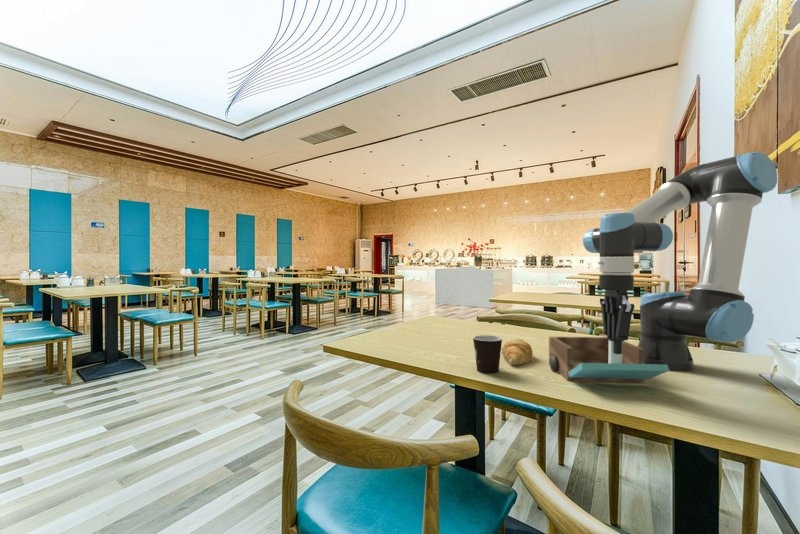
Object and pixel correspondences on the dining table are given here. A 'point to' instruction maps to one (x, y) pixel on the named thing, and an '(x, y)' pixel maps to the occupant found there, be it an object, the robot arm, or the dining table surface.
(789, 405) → the dining table surface
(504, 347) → the croissant
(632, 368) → the tailgate
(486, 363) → the coffee mug
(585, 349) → the cart
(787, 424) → the dining table surface
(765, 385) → the dining table surface
